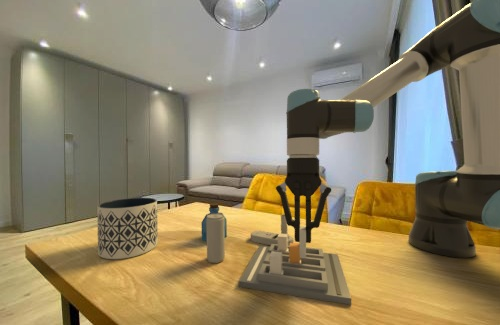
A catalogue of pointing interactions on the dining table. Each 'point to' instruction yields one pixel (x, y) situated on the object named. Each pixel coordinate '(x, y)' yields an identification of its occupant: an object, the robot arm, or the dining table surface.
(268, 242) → the electronic device
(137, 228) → the planter
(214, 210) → the perfume bottle
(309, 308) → the dining table surface
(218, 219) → the beverage can
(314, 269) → the panel
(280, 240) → the breaker far
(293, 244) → the block
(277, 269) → the block
